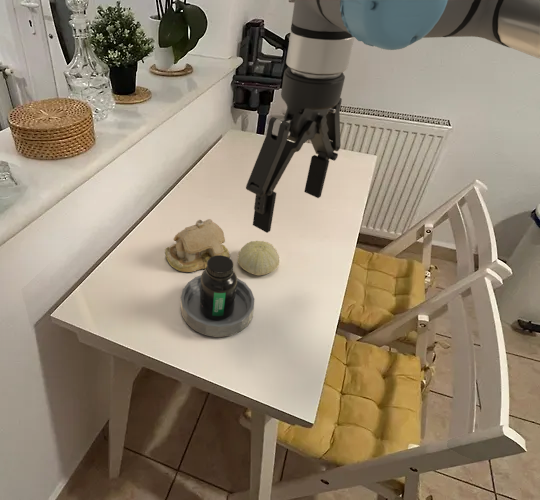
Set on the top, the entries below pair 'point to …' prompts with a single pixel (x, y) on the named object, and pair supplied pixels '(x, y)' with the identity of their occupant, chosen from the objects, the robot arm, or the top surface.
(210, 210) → the top surface
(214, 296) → the supplement bottle
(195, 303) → the dish
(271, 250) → the sea urchin shell
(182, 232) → the ceramic model
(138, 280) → the top surface
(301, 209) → the top surface
